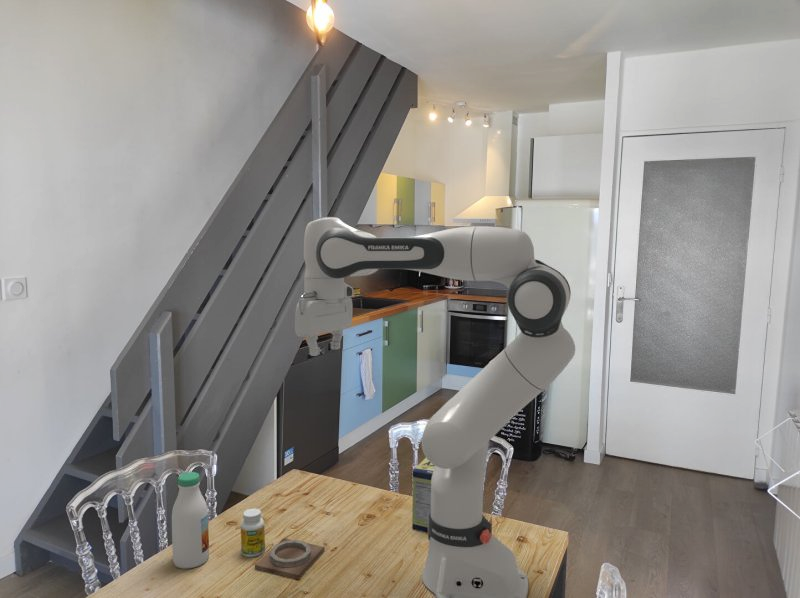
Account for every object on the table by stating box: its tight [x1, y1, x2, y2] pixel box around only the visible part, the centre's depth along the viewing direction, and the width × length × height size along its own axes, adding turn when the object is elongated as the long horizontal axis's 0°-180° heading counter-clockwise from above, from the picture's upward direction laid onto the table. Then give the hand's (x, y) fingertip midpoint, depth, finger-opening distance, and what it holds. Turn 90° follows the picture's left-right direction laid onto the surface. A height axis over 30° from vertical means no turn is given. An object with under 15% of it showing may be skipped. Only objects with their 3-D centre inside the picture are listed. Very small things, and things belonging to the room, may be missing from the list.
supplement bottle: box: [240, 508, 266, 558], centre depth 132 cm, size 5×5×10 cm
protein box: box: [411, 457, 435, 533], centre depth 148 cm, size 10×16×16 cm
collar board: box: [254, 537, 325, 580], centre depth 130 cm, size 11×12×2 cm
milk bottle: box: [171, 471, 210, 570], centre depth 128 cm, size 8×8×20 cm
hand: (325, 352), depth 128 cm, fingers open, 8 cm apart
